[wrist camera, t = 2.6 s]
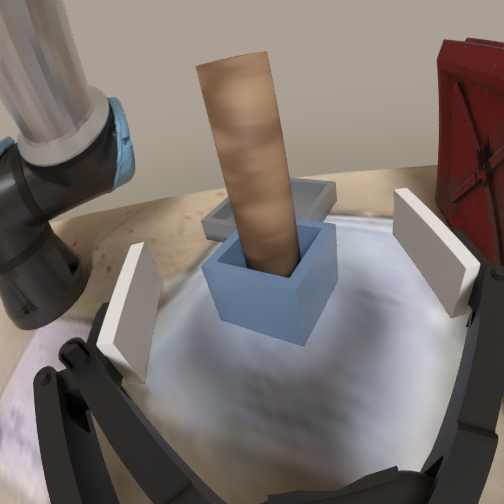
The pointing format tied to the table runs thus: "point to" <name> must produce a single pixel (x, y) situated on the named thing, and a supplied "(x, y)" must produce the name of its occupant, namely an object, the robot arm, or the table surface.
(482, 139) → the jerry can
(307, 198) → the tray
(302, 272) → the open box
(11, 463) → the table surface
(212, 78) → the dowel
